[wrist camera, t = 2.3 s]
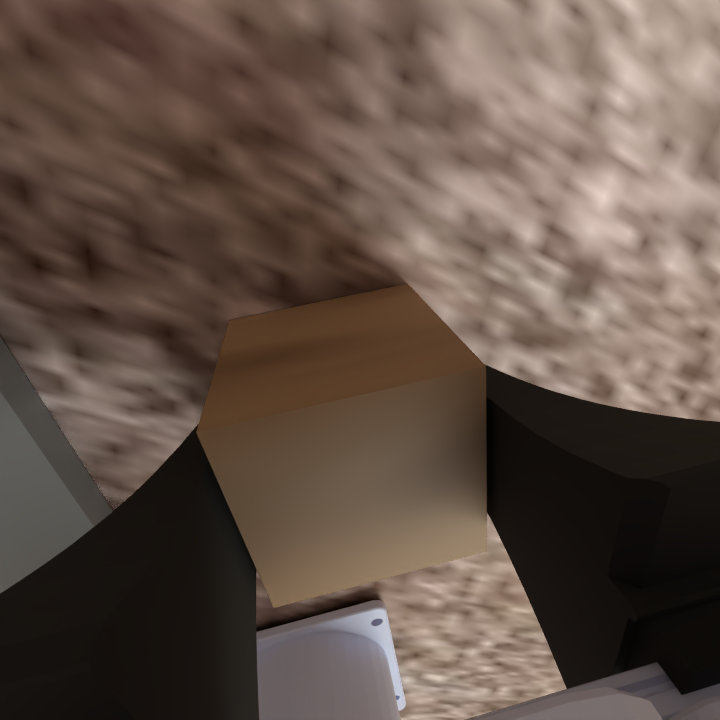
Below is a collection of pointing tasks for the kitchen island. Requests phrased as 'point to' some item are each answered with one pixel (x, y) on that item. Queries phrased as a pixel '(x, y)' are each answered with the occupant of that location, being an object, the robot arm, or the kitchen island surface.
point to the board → (37, 481)
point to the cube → (349, 441)
